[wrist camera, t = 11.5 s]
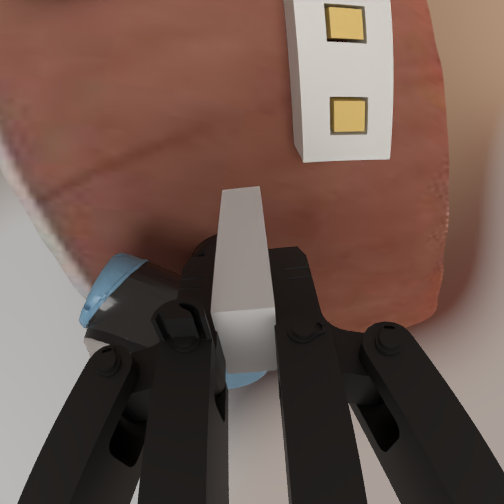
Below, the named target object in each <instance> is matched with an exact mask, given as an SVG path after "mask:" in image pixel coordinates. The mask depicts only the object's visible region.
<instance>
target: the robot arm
mask: <svg viewBox="0 0 504 504" xmlns="http://www.w3.org/2000/svg"><path fill="white" fill-rule="evenodd" d="M79 321H80V324H81V325H82V326H83V327H84V328H87V332H86V335H85V337H84V343H85V344H86V347H87V349H88V352H89V355H90V359H89V361H88V362H87V364H86V366H85V368H84V369H83V371H82V373H81V375H80V376H79V378H78V380H77V382H76V384H75V386H74V387H73V389H72V391H71V393H70V395H69V396H68V398H67V400H66V402H65V404H64V406H63V408H62V410H61V412H60V413H59V415H58V417H57V419H56V421H55V423H54V425H53V427H52V429H51V431H50V433H49V435H48V437H47V439H46V441H45V443H44V445H43V447H42V450H41V452H40V454H39V456H38V458H37V460H36V462H35V464H34V467H33V469H32V471H31V474H30V475H29V478H28V480H27V482H26V485H25V487H24V489H23V492H22V494H21V496H20V499H19V501H18V504H130V502H131V499H132V497H133V494H134V491H135V489H136V486H137V483H138V480H139V478H140V485H139V495H138V504H229V492H228V491H229V487H228V389H232V388H238V387H242V386H245V385H248V384H251V383H253V382H255V381H256V380H258V379H260V378H261V377H262V376H263V375H265V373H266V372H267V371H274V370H278V380H279V397H280V405H281V416H282V427H283V438H284V449H285V461H286V473H287V484H288V497H289V504H367V499H366V493H365V487H364V481H363V476H362V470H361V464H360V459H359V454H358V449H357V444H356V439H355V434H354V429H353V424H352V420H351V415H350V410H349V405H348V403H349V404H350V406H351V408H352V410H353V412H354V414H355V415H356V417H357V419H358V421H359V423H360V425H361V427H362V429H363V431H364V433H365V434H366V437H367V438H368V440H369V442H370V444H371V446H372V448H373V450H374V452H375V454H376V456H377V458H378V460H379V461H380V464H381V466H382V467H383V469H384V471H385V473H386V475H387V477H388V479H389V481H390V483H391V485H392V487H393V489H394V491H395V493H396V495H397V497H398V499H399V501H400V503H401V504H504V472H503V470H502V468H501V467H500V465H499V463H498V462H497V460H496V458H495V457H494V455H493V453H492V452H491V450H490V448H489V447H488V445H487V443H486V442H485V440H484V439H483V437H482V435H481V434H480V432H479V431H478V429H477V427H476V426H475V424H474V423H473V421H472V420H471V418H470V417H469V415H468V414H467V412H466V411H465V409H464V408H463V406H462V405H461V403H460V402H459V400H458V399H457V397H456V396H455V394H454V393H453V391H452V390H451V389H450V387H449V386H448V384H447V383H446V381H445V380H444V378H442V376H441V374H440V373H439V371H438V370H437V369H436V367H435V366H434V365H433V363H432V362H431V360H430V359H429V358H428V356H427V355H426V353H425V352H424V351H423V350H422V348H421V347H420V345H419V344H418V343H417V341H416V340H415V339H414V337H413V336H412V335H411V333H410V332H409V331H408V330H406V329H405V328H404V327H403V326H401V325H399V324H396V323H393V322H380V323H375V324H374V325H372V326H370V327H369V328H368V329H367V330H366V332H365V333H361V332H353V331H347V330H342V329H339V328H337V327H335V326H333V325H331V324H330V323H329V322H327V320H326V319H325V318H324V317H323V315H322V313H321V310H320V306H319V302H318V298H317V294H316V290H315V287H314V283H313V279H312V276H311V272H310V268H309V264H308V261H307V257H306V255H305V254H304V253H303V252H302V251H301V250H300V249H299V248H298V247H297V246H296V247H285V248H274V249H268V247H267V239H266V231H265V223H264V215H263V208H262V200H261V192H260V186H256V187H246V188H236V189H227V190H222V197H221V206H220V216H219V225H218V235H215V236H212V237H210V238H208V239H206V240H205V241H203V242H202V243H201V244H200V245H199V246H198V247H197V248H196V250H195V251H194V253H193V255H192V257H191V258H190V260H189V261H188V262H187V264H186V265H185V266H184V267H183V271H182V275H179V274H177V273H175V272H172V271H170V270H168V269H165V268H163V267H161V266H158V265H156V264H154V263H152V262H150V261H149V260H148V259H141V258H138V257H136V256H133V255H130V254H128V253H118V254H116V255H114V256H113V257H112V258H111V259H110V260H109V261H108V263H107V264H106V265H105V267H104V268H103V270H102V271H101V273H100V274H99V276H98V278H97V279H96V281H95V283H94V285H93V287H92V289H91V291H90V293H89V295H88V297H87V299H86V303H85V305H84V307H83V309H82V311H81V314H80V318H79Z"/></svg>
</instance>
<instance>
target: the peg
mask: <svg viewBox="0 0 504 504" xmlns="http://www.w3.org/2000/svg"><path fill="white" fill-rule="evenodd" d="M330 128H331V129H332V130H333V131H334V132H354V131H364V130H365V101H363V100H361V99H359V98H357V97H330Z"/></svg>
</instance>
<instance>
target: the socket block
mask: <svg viewBox="0 0 504 504" xmlns="http://www.w3.org/2000/svg"><path fill="white" fill-rule="evenodd" d="M283 2H284V12H285V23H286V34H287V45H288V57H289V70H290V84H291V99H292V116H293V135H294V145H295V147H296V149H297V151H298V153H299V155H300V157H301V159H302V161H303V163H305V162H322V161H343V160H378V159H390V149H391V134H392V114H393V36H392V18H391V5H390V0H283ZM328 7H337V8H351V9H361V10H362V21H363V38H364V40H346V41H347V42H327V36H326V22H325V11H324V9H325V8H328ZM330 97H357V98H359V99H361V100H363V101H365V130H364V131H354V132H334V131H333V130H332V129H331V128H330Z"/></svg>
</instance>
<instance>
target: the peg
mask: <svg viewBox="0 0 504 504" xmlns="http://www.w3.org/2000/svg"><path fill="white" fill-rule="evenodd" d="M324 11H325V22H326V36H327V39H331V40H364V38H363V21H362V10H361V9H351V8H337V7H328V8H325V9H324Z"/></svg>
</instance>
